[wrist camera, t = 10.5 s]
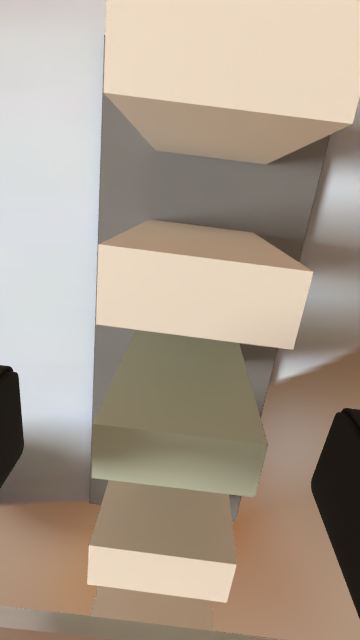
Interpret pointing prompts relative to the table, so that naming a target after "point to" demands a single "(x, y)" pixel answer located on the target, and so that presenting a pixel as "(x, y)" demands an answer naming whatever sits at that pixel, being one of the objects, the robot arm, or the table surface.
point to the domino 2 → (201, 284)
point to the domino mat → (196, 222)
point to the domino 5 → (152, 608)
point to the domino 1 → (233, 73)
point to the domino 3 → (180, 417)
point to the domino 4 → (163, 541)
